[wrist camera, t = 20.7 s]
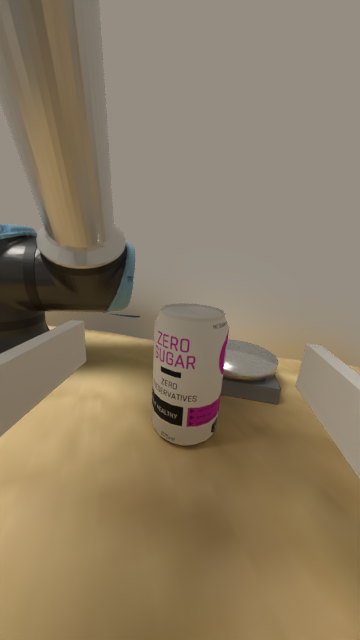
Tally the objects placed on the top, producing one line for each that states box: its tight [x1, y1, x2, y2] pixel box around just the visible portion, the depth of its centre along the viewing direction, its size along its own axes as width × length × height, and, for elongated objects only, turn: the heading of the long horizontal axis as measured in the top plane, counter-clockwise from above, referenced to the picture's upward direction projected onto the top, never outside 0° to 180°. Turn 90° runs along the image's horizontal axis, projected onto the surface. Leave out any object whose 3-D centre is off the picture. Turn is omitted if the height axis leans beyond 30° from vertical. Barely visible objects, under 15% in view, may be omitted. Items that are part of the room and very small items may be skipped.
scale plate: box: [223, 340, 278, 380], centre depth 39 cm, size 14×14×4 cm
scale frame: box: [221, 375, 281, 404], centre depth 40 cm, size 13×13×3 cm
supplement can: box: [152, 304, 229, 446], centre depth 26 cm, size 8×8×15 cm
